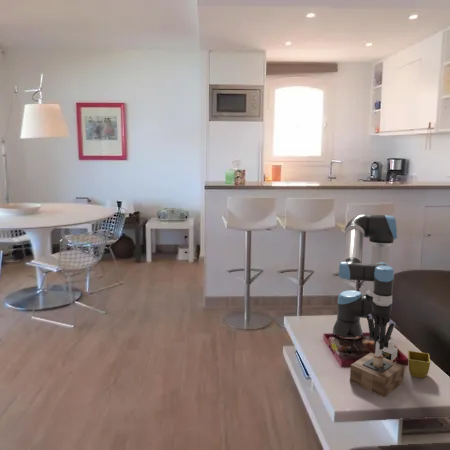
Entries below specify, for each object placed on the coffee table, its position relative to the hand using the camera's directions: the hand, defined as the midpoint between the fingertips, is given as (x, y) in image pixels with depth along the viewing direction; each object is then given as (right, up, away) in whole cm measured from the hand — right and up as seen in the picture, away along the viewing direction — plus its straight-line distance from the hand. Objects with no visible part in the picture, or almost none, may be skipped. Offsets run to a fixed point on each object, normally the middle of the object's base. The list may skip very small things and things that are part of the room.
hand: (378, 355), depth 194 cm
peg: (0, -8, +2) cm, 9 cm away
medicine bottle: (+10, -9, +20) cm, 24 cm away
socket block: (0, -12, +3) cm, 13 cm away
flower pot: (+20, -11, +9) cm, 25 cm away
